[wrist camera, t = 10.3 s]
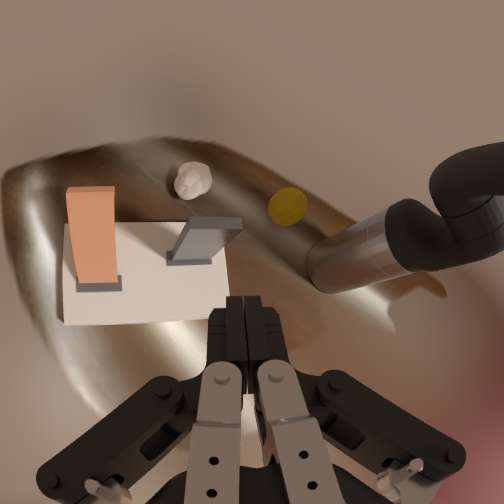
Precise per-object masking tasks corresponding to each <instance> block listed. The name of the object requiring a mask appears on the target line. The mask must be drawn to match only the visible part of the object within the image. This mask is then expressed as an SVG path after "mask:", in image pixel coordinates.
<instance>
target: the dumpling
mask: <svg viewBox="0 0 504 504" xmlns="http://www.w3.org/2000/svg"><path fill="white" fill-rule="evenodd" d="M211 184H212V175H211V173H210V169H209V167H208V166H207V165H206V164H203V163H200V162H197V161H195V162H187V163H184V164H182V165H181V166H180V167H179V170H178V176H177V177H176V179H175V182H174V189H175V191H176V192H177V194H178V196H179V197H180V198H181V199H184V200H191V199H194V198H196V197H198V196H199V195H202V194H204V193H206V192H207V191H208V190H209V189H210V187H211Z"/></svg>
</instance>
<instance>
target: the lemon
mask: <svg viewBox="0 0 504 504" xmlns="http://www.w3.org/2000/svg"><path fill="white" fill-rule="evenodd" d="M307 208H308V202H307V199H306V196H305V195H304V193H303V192H302V191H300V190H299V189H296V188H292V187H289V188H284V189H282V190H279V191H278V192H276V193H275V194H274V195H273V196H272V197H271V199H270V201H269V203H268V214H269V217H270V219H271V220H272V221H273V222H274V223H276V224H277V225H280V226H290V225H293V224H295V223H297V222H298V221H300V220H301V219H302V218H303V216H304V215H305V213H306V211H307Z"/></svg>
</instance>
